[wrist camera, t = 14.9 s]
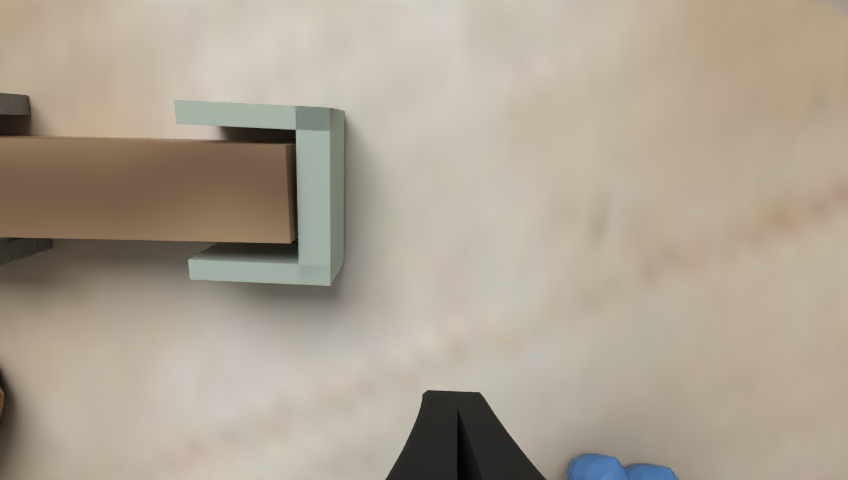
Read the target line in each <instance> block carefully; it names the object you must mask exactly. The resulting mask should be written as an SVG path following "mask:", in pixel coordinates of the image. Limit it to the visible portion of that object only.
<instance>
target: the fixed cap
mask: <svg viewBox="0 0 848 480" xmlns="http://www.w3.org/2000/svg"><path fill="white" fill-rule="evenodd" d="M0 114H8V115H30V110H29V103H28V97H27V95H18V94H6V93H0ZM51 248H52V244H51V238H18V237H0V265H2V264H5V263H8V262H11V261H14V260H17V259H20V258H23V257H27V256H30V255H33V254H36V253H39V252H42V251H45V250H48V249H51Z"/></svg>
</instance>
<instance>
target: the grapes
mask: <svg viewBox="0 0 848 480" xmlns="http://www.w3.org/2000/svg"><path fill="white" fill-rule="evenodd" d="M567 474H568V478H569V480H678V478H677V477H676V475H675V474H674V473H673V472H672V470H671V469H670V468H667V467H662V466H657V465H652V464H633V465H631V466H629V467H627V468H626V469H624V468H623V466H622V465H621V464H620V462H619V461H618V460H617V459H616V458H615V457H610V456H605V455H600V454H582V455H580V456H578V457H576V458H574V459H572V460H571V462H570V465H569V468H568V471H567Z"/></svg>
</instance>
